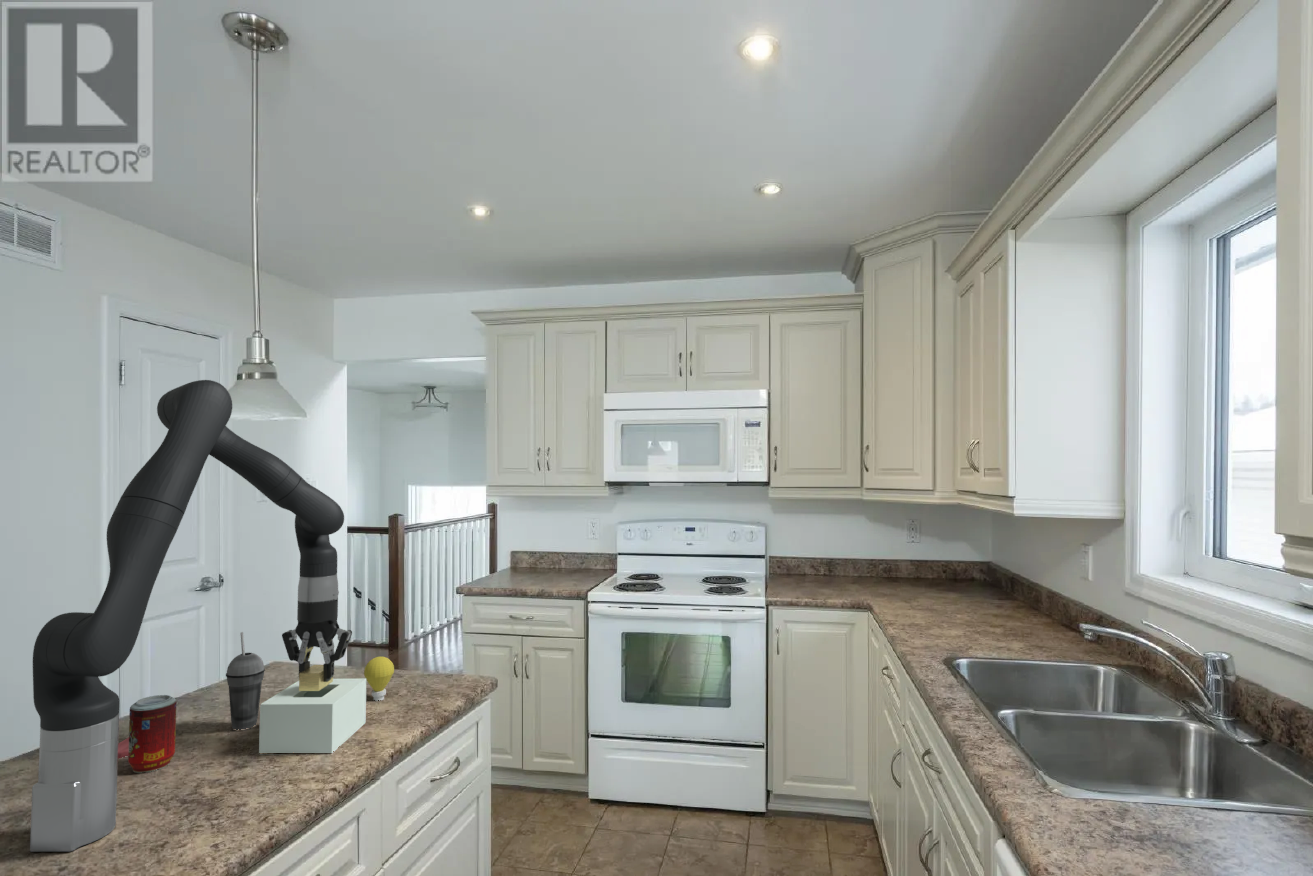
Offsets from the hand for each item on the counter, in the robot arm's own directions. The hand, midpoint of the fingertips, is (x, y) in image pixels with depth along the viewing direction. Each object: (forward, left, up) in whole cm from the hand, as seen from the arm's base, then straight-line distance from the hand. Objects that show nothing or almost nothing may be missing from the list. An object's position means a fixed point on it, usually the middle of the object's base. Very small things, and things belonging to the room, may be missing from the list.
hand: (316, 680), depth 141 cm
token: (0, 0, -1) cm, 1 cm away
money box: (0, 0, -12) cm, 12 cm away
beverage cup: (+6, +18, -12) cm, 22 cm away
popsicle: (-2, +34, -12) cm, 36 cm away
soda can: (-13, +24, -12) cm, 30 cm away
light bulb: (+23, -4, -12) cm, 26 cm away
